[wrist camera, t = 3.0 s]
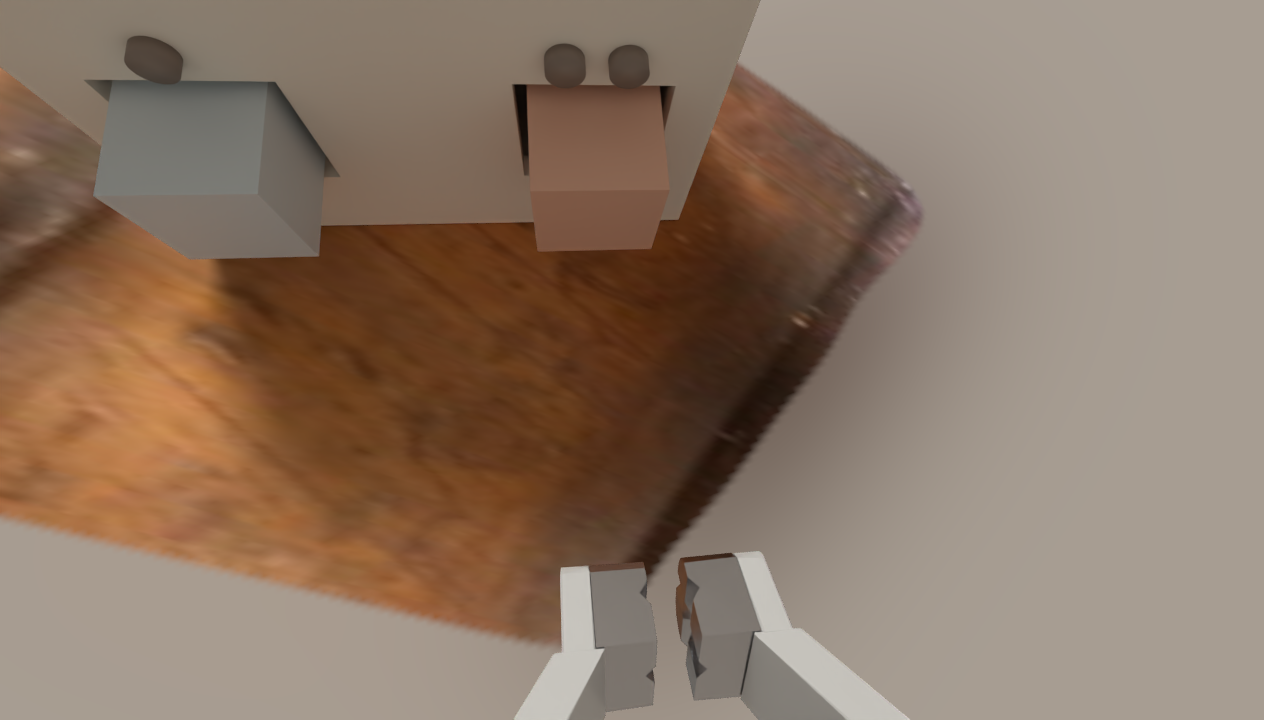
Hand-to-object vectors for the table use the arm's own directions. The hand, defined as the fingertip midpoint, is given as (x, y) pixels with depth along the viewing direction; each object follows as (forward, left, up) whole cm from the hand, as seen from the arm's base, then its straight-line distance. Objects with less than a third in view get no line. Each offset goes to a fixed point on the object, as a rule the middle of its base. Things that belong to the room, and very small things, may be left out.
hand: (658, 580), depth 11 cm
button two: (0, +16, -12) cm, 20 cm away
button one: (-14, +16, -12) cm, 25 cm away
